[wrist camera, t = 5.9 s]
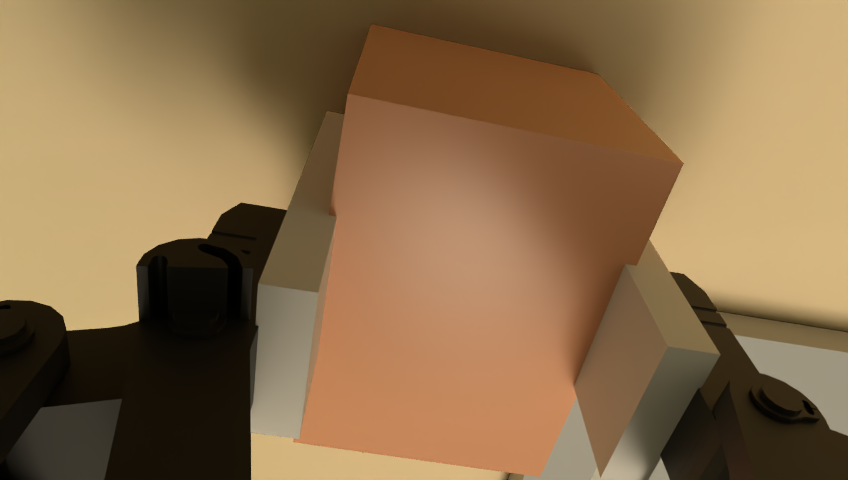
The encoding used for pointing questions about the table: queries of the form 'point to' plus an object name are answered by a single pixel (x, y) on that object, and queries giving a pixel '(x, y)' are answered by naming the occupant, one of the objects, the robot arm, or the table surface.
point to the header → (772, 355)
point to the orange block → (474, 250)
